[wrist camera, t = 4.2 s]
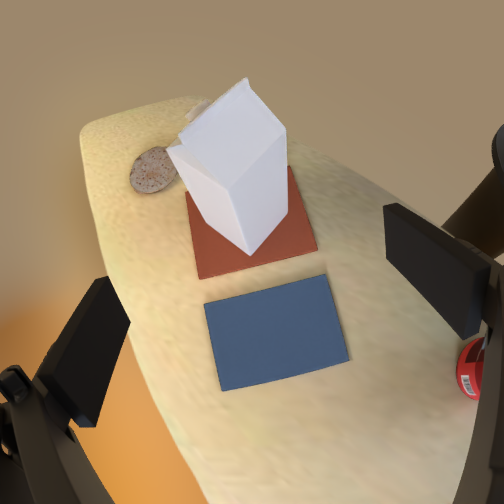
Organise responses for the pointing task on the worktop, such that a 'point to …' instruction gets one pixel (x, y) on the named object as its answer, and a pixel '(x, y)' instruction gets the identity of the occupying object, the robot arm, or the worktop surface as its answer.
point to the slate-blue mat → (275, 333)
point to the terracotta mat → (272, 249)
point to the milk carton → (235, 165)
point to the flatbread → (152, 171)
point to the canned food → (471, 368)
